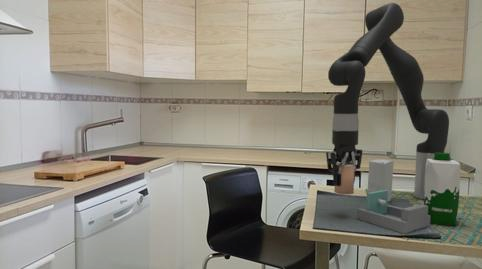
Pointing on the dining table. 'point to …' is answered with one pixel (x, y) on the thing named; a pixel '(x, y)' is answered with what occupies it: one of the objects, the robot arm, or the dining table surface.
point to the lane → (398, 218)
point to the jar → (346, 180)
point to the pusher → (377, 201)
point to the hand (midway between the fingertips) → (344, 184)
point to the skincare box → (380, 176)
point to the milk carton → (442, 189)
